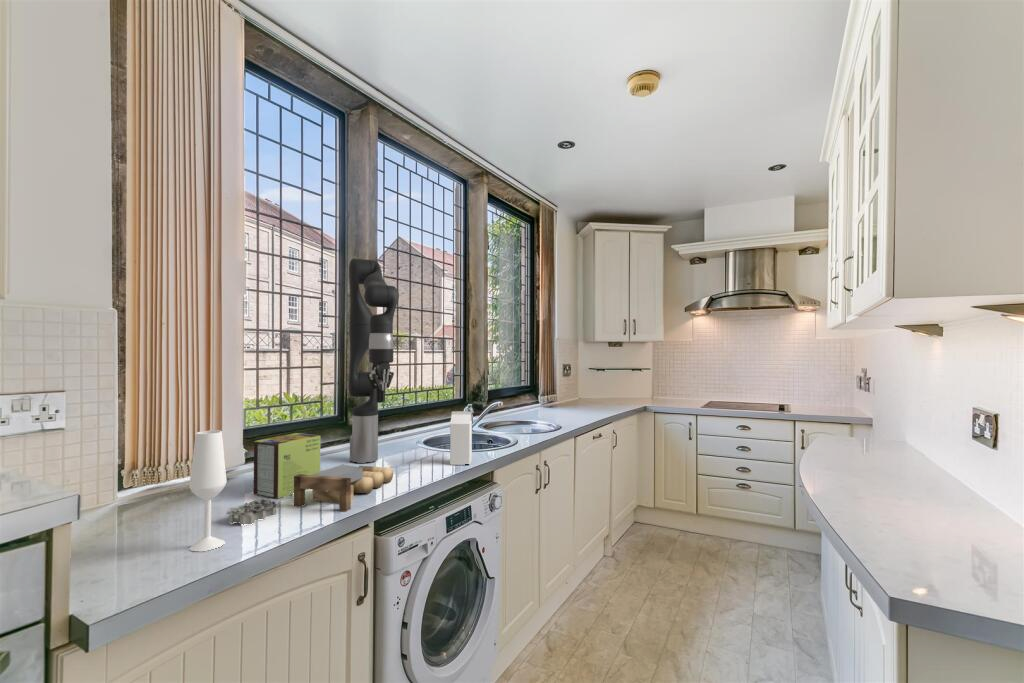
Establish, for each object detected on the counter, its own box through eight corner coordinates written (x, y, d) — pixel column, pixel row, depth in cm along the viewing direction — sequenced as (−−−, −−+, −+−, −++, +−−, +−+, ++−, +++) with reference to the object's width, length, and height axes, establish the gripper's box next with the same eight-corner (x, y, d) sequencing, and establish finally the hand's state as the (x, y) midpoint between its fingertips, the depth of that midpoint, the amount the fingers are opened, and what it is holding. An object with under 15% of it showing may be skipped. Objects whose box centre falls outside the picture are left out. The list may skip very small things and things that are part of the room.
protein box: (320, 485, 147) (321, 434, 148) (277, 499, 133) (278, 443, 134) (296, 481, 152) (297, 432, 152) (252, 494, 138) (252, 440, 138)
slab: (305, 487, 131) (305, 476, 131) (343, 474, 143) (342, 464, 143) (326, 491, 128) (325, 480, 127) (362, 478, 139) (362, 467, 139)
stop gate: (293, 506, 127) (293, 476, 128) (298, 504, 129) (299, 474, 130) (346, 511, 124) (346, 480, 124) (350, 508, 125) (350, 478, 126)
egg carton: (245, 528, 112) (245, 511, 112) (222, 524, 115) (222, 507, 115) (282, 514, 122) (282, 497, 122) (260, 510, 125) (260, 494, 125)
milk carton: (469, 465, 173) (469, 412, 174) (450, 465, 173) (450, 412, 174) (471, 461, 180) (471, 410, 181) (452, 460, 180) (453, 410, 181)
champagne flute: (180, 552, 98) (182, 434, 99) (201, 539, 105) (203, 429, 106) (213, 552, 98) (215, 435, 99) (232, 539, 105) (233, 429, 106)
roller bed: (332, 492, 140) (332, 477, 140) (363, 478, 156) (363, 464, 156) (365, 495, 137) (365, 479, 137) (393, 480, 153) (393, 466, 153)
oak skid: (353, 500, 134) (353, 485, 134) (343, 504, 130) (343, 488, 130) (322, 496, 137) (323, 481, 137) (312, 500, 133) (312, 485, 134)
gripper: (381, 347, 145) (380, 405, 145) (401, 347, 158) (401, 400, 158) (359, 347, 147) (358, 404, 147) (381, 347, 160) (380, 400, 159)
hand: (380, 402), depth 152 cm, fingers closed
